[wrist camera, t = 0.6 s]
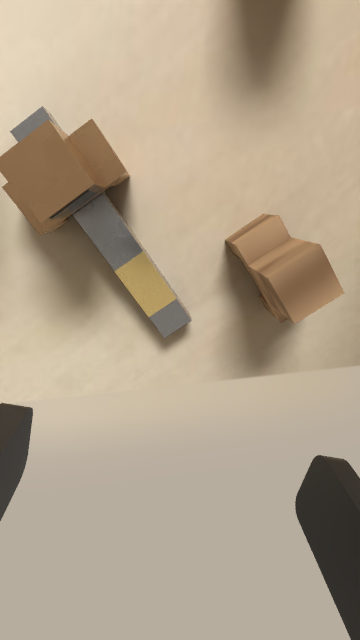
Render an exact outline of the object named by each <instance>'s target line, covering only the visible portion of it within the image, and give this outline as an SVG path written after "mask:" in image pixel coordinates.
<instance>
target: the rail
mask: <svg viewBox="0 0 360 640" xmlns="http://www.w3.org/2000/svg"><path fill="white" fill-rule="evenodd" d="M10 132H11V133H12V135H13V136H14V137H15V139H16V140H17V141H18V143H17V144H16V145H15V146H13V147H12V148H11V149H10V150H8V151H7V152H6V153H4V154H3V155H2V156H1V157H0V172H1V173H2V174H3V176H4V177H5V178H6V179H7V181H8V183H7V184H5V185H4V186H3V187H2V188H3V189H4V190H5V192H6V193H7V194H8V195H9V197H10V198H11V199H12V200H13V202H14V203H15V204H16V205H17V207H18V208H19V209H20V210H21V212H22V213H23V214H24V215H25V217H26V218H27V219H28V220H29V222H30V223H31V224H32V225H33V227H34V228H35V229H36V230H37V232H38V233H39V234H40V235H42V234H45V233H49V232H52V231H55V230H56V229H58V228H59V227H60V226H62V225H63V224H64V223H66V222H67V221H68V220H67V219H66V218H68V217H69V216H70V215H73V216H74V218H75V219H76V220H77V222H78V223H79V224H80V226H81V227H82V228H83V230H84V231H85V232H86V234H87V235H88V236H89V238H90V239H91V240H92V242H93V243H94V244H95V246H96V247H97V248H98V250H99V251H100V252H101V254H102V255H103V257H104V258H105V259H106V261H107V262H108V263H109V265H110V266H111V267H112V269H113V270H114V272H115V273H116V274H117V276H118V277H119V278H120V280H121V281H122V282H123V284H124V285H125V286H126V288H127V289H128V290H129V292H130V293H131V294H132V296H133V297H134V298H135V300H136V301H137V302H138V304H139V305H140V306H141V308H142V309H143V310H144V312H145V313H146V315H147V316H148V317H149V318H150V320H151V321H152V322H153V324H154V325H155V326H156V328H157V329H158V330H159V332H160V333H161V334H162V336H163V337H164V338H165V337H167V336H168V335H170V334H172V333H173V332H175V331H176V330H178V329H179V328H181V327H182V326H184V325H185V324H187V323H188V322H190V321H191V317H190V314H189V313H188V311H187V310H186V308H185V307H184V305H183V304H182V302H181V301H180V300H179V298H178V297H177V295H176V294H175V292H174V291H173V289H172V288H171V287H170V285H169V284H168V282H167V281H166V279H165V278H164V277H163V275H162V274H161V272H160V271H159V269H158V268H157V266H156V265H155V264H154V262H153V261H152V259H151V258H150V256H149V255H148V253H147V252H146V251H145V249H144V248H143V246H142V245H141V243H140V242H139V241H138V239H137V238H136V236H135V235H134V233H133V232H132V230H131V229H130V228H129V226H128V225H127V223H126V222H125V220H124V219H123V218H122V216H121V215H120V213H119V212H118V210H117V209H116V207H115V206H114V205H113V203H112V202H111V200H110V199H109V197H108V196H107V194H106V193H105V192H104V191H105V190H106V189H107V188H109V187H110V186H111V185H114V186H117V185H118V184H119V183H121V182H122V181H123V180H125V179H126V178H128V177H129V176H130V175H129V174H128V172H127V171H126V169H125V168H124V166H123V165H122V163H121V162H120V160H119V158H118V157H117V155H116V154H115V152H114V151H113V149H112V148H111V146H110V145H109V143H108V142H107V140H106V139H105V137H104V136H103V134H102V133H101V131H100V130H99V128H98V127H97V125H96V124H95V122H94V121H93V119H91V120H89V121H88V122H87V123H85V124H84V125H83V126H81V127H80V128H79V129H77V130H76V131H75V132H74V133H72V134H71V135H70V136H68V135H67V134H66V133H64V132H63V131H62V130H61V128H60V127H59V125H58V124H57V123H56V121H55V120H54V118H53V117H52V115H51V114H50V113H49V112H48V111H47V110H46V109H45V108H44V107H43V106H42V107H41V108H40V109H38V110H37V111H36V112H34V113H33V114H32V115H31V116H29V117H28V118H27V119H26V120H24V121H23V122H22V123H20V124H19V125H18V126H17V127H15V128H14V129H13V130H12V131H10Z"/></svg>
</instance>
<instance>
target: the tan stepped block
mask: <svg viewBox="0 0 360 640" xmlns="http://www.w3.org/2000/svg"><path fill="white" fill-rule="evenodd" d="M226 242H227V244H228V245H229V247H230V249H231V250H232V252H233V254H235V255H237V256H238V257H240V258H241V260H242V261H243V263H244V265H245V266H246V268H247V270H248V272H249V273H250V275H251V277H252V278H253V280H254V282H255V283H256V285H257V287H258V288H259V290H260V292H261V293H262V296H260V299H261V300H262V302H263V304H264V305H265V307H266V309H267V310H268V311H269V312H270V313H272V314H273V315H274V316H275V317H276V318H277V319H278V320H279V321H280V322H283V321H285V320H287V319H289V320H290V321H291V322H293V323H294V324H296V323H297V322H299V321H300V320H302V319H304V318H305V317H307V316H308V315H310V314H312V313H313V312H315V311H316V310H318V309H320V308H321V307H323V306H324V305H326V304H328V303H329V302H331V301H332V300H334V299H336V298H337V297H339V296H340V295H342V294H344V291H343V289H342V287H341V285H340V283H339V281H338V279H337V277H336V275H335V273H334V271H333V269H332V267H331V265H330V263H329V261H328V259H327V257H326V255H325V253H324V251H323V249H322V247H321V245H320V244H316V243H311V242H307V241H303V240H299V239H295V238H291V237H290V235H289V233H288V231H287V230H286V228H285V226H284V224H283V222H282V220H281V218H280V216H277V215H266V214H263V215H261V216H260V217H258V218H257V219H255V220H254V221H252V222H251V223H249V224H248V225H246V226H245V227H243V228H242V229H240V230H239V231H238V232H236V233H235V234H233V235H232V236H230V237H229V238H227V239H226Z"/></svg>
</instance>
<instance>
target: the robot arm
mask: <svg viewBox="0 0 360 640" xmlns="http://www.w3.org/2000/svg"><path fill="white" fill-rule="evenodd" d="M32 416H33V409H32V408H30V407H24V406H18V405H12V404H6V403H1V404H0V521H1V519H2V517H3V515H4V513H5V510H6V508H7V506H8V504H9V502H10V500H11V498H12V496H13V494H14V492H15V490H16V488H17V486H18V484H19V482H20V479H21V477H22V474H23V471H24V468H25V465H26V461H27V456H28V449H29V441H30V433H31V424H32ZM296 514H297V518H298V520H299V522H300V525H301V527H302V529H303V532H304V534H305V536H306V538H307V541H308V543H309V545H310V548H311V550H312V552H313V554H314V557H315V559H316V561H317V563H318V566H319V568H320V570H321V572H322V574H323V577H324V579H325V582H326V584H327V586H328V588H329V591H330V593H331V595H332V597H333V600H334V602H335V604H336V606H337V609H338V611H339V613H340V616H341V618H342V620H343V622H344V625H345V627H346V629H347V631H348V633H349V636H350V638H351V640H360V478H359V477H358V475H357V474H356V472H355V471H354V470H353V468H352V467H351V466H350V464H349V463H348V462H347V461H346V460H344V459H339V458H333V457H327V456H321V455H318V456H316V457H315V458H314V459H313V461H312V463H311V465H310V467H309V469H308V472H307V474H306V476H305V478H304V480H303V482H302V485H301V487H300V489H299V491H298V493H297V496H296Z"/></svg>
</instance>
